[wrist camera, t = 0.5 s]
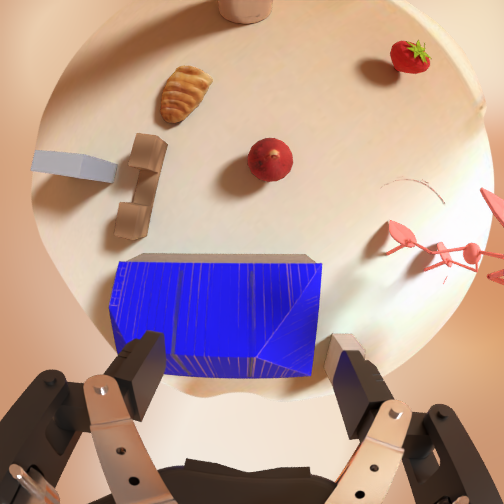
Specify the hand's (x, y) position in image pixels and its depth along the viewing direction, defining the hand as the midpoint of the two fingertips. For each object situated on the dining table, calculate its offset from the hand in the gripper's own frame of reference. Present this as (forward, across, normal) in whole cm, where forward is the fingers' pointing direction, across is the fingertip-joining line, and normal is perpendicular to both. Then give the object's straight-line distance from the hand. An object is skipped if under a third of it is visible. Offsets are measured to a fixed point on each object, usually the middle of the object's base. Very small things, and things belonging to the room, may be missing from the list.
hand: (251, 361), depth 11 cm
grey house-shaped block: (+28, -16, +18) cm, 37 cm away
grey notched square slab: (+28, +28, -9) cm, 40 cm away
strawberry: (+33, -22, -34) cm, 52 cm away
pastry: (+30, +13, -21) cm, 39 cm away
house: (+28, +4, +11) cm, 30 cm away
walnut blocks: (+28, +17, -6) cm, 34 cm away
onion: (+30, 0, -11) cm, 32 cm away
